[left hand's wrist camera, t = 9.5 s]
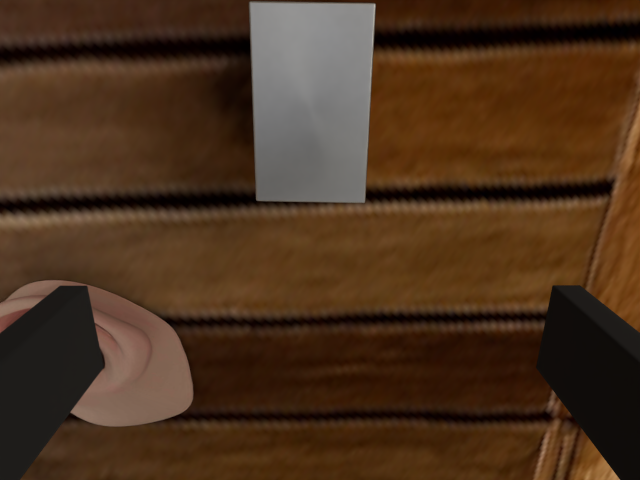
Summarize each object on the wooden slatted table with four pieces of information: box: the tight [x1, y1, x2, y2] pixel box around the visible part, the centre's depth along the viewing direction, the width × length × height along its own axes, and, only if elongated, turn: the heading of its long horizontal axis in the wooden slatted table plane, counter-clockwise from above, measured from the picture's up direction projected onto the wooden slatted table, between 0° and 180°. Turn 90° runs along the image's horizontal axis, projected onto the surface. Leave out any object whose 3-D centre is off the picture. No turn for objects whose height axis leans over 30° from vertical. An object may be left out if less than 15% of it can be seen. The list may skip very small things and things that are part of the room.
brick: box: [249, 1, 376, 203], centre depth 21 cm, size 8×5×7 cm, turn 179°
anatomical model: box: [0, 280, 193, 426], centre depth 28 cm, size 13×4×12 cm
